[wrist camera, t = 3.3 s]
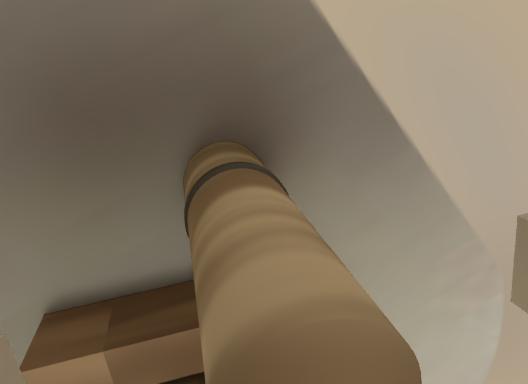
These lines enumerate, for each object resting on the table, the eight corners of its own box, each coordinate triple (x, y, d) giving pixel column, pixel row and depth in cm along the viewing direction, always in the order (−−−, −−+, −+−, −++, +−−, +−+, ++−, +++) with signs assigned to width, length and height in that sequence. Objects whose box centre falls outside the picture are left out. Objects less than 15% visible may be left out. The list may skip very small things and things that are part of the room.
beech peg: (172, 148, 19) (182, 350, 6) (260, 132, 20) (426, 286, 7) (190, 229, 21) (226, 523, 8) (271, 211, 22) (426, 458, 9)
